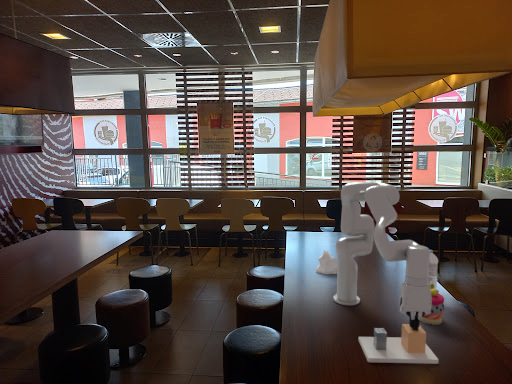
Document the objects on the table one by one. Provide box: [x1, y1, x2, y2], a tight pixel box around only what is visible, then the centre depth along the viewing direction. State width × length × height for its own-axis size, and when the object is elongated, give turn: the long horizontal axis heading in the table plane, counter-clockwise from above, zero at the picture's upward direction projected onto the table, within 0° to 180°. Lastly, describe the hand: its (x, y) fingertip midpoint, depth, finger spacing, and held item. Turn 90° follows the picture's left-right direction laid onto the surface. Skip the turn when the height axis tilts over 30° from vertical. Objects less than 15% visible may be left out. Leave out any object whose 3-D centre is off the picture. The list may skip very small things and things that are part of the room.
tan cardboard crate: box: [400, 323, 427, 353], centre depth 128 cm, size 6×6×8 cm
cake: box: [420, 284, 445, 326], centre depth 152 cm, size 10×11×15 cm
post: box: [373, 327, 388, 350], centre depth 129 cm, size 4×4×8 cm
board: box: [358, 336, 440, 365], centre depth 129 cm, size 14×24×2 cm, turn 87°
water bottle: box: [429, 249, 439, 290], centre depth 170 cm, size 7×7×25 cm
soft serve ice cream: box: [315, 249, 337, 275], centre depth 210 cm, size 12×15×14 cm
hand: (414, 328), depth 127 cm, fingers closed
